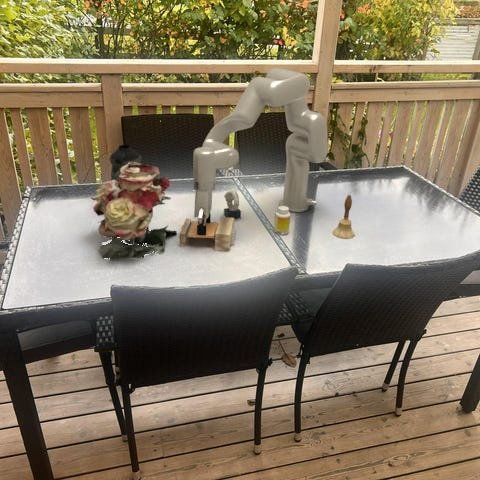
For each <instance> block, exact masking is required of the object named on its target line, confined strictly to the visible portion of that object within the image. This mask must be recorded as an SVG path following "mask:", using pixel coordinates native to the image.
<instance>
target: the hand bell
mask: <svg viewBox="0 0 480 480" xmlns="http://www.w3.org/2000/svg"><path fill="white" fill-rule="evenodd" d="M352 203H353V199H352V196H351V194H348V195H347V197H346V199H345V201H344V214H343V218H341V219H340V220H339V221H338V225H337V226H336V228H334V229H333V230H332V234H333V236H335V237H336V238H339V239H343V240H349V239H353V238H354V237H355V232H354V231H353V230H352V220H350V219H349V213H350V210H351V208H352V205H353V204H352Z"/></svg>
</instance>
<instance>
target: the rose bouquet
mask: <svg viewBox="0 0 480 480" xmlns="http://www.w3.org/2000/svg"><path fill="white" fill-rule="evenodd" d="M136 162H137V161H136ZM136 162H129V163H128V164H127V165H125V166H123V167H122V168H121V169H120V172H121V174H120V175H119V177H120V179H121V180H120V181H119V182H118V181H116V180H112V181H111V180H108V181H105V182H103V183H102V184H100V185H98V186H97V189H96V190H95V193H96V195H95V196H92V197H91V200H92V201H96V203H95V204H94V206H93V211H94V213H95V214H96V215H97V216H103V217H104V218H103V219H102V220H101V221H98V222H97V224H99V223H100V224H99V226H98V229H97V230H98V233H99V234H100V235H101V236H102V237H105V238H111V237H112V241H111V242H110V243H108V244H106V245H102V244H101V245H102V246H101V245H100V246H99V249H98V252H99V254H100V255H101V257H102V259H103V260H104V258H108V259H109V258H110V260H109V261H122V260H129V259H143V258H144V255H145V254H150V253H151V254H152V252H153V251H154V252H153V254H155V252H156V254H159V255H158V256H160V255H164V254H165V252H166V251H165V250H166V235H167V233H175V234H178V232H177V230H170V229H167V228H168V227H169V225H167V226H165V227H161V228H152V229H153V230H151V231H149V230H148V229H150V228H149V225H150V223H151V222H152V218H153V216H154V208H155V207H157V206H158V205H159V206H161V205H166V203H165V202H163V201H167V200H171V199H172V197H170V196H167V195H166V193H165V191H167V189H169V188H170V187H171V186H172V183H171V181H170V179H169V178H168V177H166V176H163V177H160V178H159V176H160V175H161V174H160V169H159V168H158V167H156V166H154V165H153V166H152V165H150V164H145V163H144V164H143V163H140V164H138V163H136ZM119 184H120V186H121V188H122V189H120V188H119V187H118V185H119ZM165 195H166V196H165ZM117 237H120V238H117ZM122 240H126V241H128V240H130V241H131V242H130V244H132V245H128V244H125V243H123V241H122ZM121 241H122V242H121ZM143 243H144V245H145V243H147V246H148V247H146V245H145V246H144V245H143ZM137 244H139V245H137ZM148 244H149V245H148ZM142 245H143V246H142ZM151 254H150V255H149V256H152V255H151ZM141 257H142V258H141ZM143 260H144V259H143Z"/></svg>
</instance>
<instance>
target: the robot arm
mask: <svg viewBox="0 0 480 480" xmlns="http://www.w3.org/2000/svg"><path fill="white" fill-rule="evenodd" d="M310 87H311V81H310V79H309V77H308V75H306V74H305V73H303V72H300V71H299V72H298V71H294V70H289V69H283V68H279V67H274V68H271V69H269V70H268V72H266V75H265V77H264V76H257V77H254V78H252V79H251V80H250V82H249V83H248V84H247V86H246V88H245V90H244V91H243V94H242V95H241V97H240V98H239V100H238V102H237V104H236V106H235V107H234V109H233V110H232V112H231V113H230V114H228V115H227V116H225V117H224V118H222V119H221V120H220V121H218V122H217V123H215V124H214V126H213V127H212V128H211V129H210V131H209V132H208V133H207V136H206V137H205V139H204V141H203V143H202V146H201V147H197V148H195V149H194V150H193V161H192V162H193V168H192V169H193V175H192V177H193V183H192V184H193V187H192V188H193V189H194V191H195V193H194V194H195V195H194V215H193V217H194V218H196V219H197V221H198V222H197V235H206V223H210V222H212V221H211V218H212V217H211V211H212V205H213V192H214V190H216V177H217V176H216V175H217V174H216V173H217V170H224V169H232V168H233V167H235V166H236V165H237V164H238V162H239V159H240V157H239V156H240V154H239V152H238V150H237V149H235V148H234V147H232V146H229V145H227V144H225V143H224V141H226V138H228V137H229V136H230V135H232V134H233V133H236V132H238V131H243V130H246V129H249V128H250V129H251V128H253V126H254V125H255V124H256V122H257V120H258V118H259V117H260V115H261V113H262V111H263V110H264V108H265V107H266V106H269V107H272V108H273V107H274V108H278V107H279V108H280V107H283V106H284V112H285V121H286V126H287V129H288V131H290V132H291V134H290V135H289V136H288V137H287V138H286V142H285V152H286V153H285V154H286V166H285V175H284V176H285V177H284V185H283V196H282V199H280V200H279V203H278V207H279V206H286V207H288V208H289V213H301V212H303V213H304V212H305V211H308V209H309V206H310V205H311V206H316V205H317V200H314V198H308V197H307V192H308V181H309V176H310V175H309V174H310V163H312V164H319V163H322V162H323V161H324V160H325V159H326V158H327V154H328V149H329V143H328V129H327V128H328V126H327V125H328V124H327V121H326V119H325V117H324V115H323V114H322V113H319V112H316V111H312V110H310V109H309V107H308V101H307V96H306V95H307V94H308V92H309V90H310Z"/></svg>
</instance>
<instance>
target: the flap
mask: <svg viewBox="0 0 480 480" xmlns="http://www.w3.org/2000/svg"><path fill="white" fill-rule="evenodd" d="M197 222H198V220H191V225H190V228H189V230H188V233H187V235H186V237H187V238H188V237H189V238H202V239H203V238H205V239H207V238H208V239H212V238H214V236H215V234H216V230H217V227H218V224H219V221H210V223H206V235H197ZM189 238H188V239H189Z"/></svg>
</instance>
